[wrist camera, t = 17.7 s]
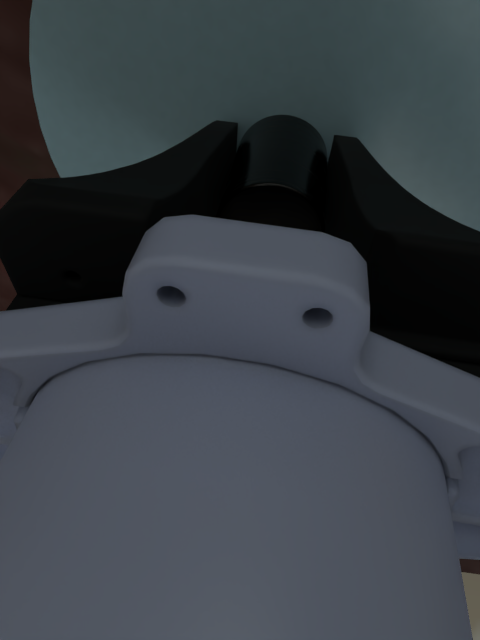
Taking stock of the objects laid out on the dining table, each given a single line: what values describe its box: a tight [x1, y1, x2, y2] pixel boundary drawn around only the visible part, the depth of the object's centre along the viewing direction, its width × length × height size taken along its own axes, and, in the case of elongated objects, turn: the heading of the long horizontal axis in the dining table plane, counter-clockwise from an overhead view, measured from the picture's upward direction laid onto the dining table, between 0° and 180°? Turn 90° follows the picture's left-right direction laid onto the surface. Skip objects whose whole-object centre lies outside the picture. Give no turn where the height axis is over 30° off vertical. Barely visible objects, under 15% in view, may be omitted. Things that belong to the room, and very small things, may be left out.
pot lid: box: [29, 0, 480, 233], centre depth 12 cm, size 15×15×5 cm
